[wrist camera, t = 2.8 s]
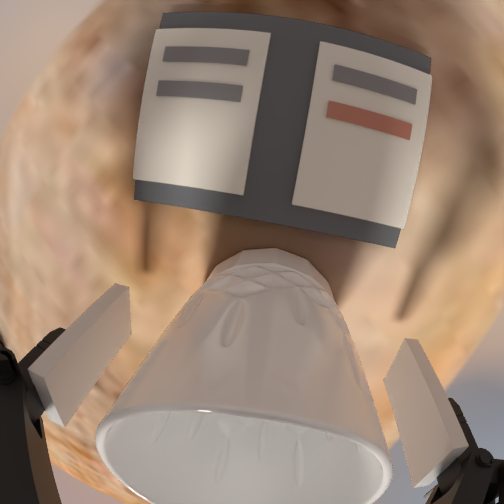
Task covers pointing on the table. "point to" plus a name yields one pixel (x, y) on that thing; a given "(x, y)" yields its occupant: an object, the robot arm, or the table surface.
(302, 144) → the label board
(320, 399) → the white cup
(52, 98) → the table surface
